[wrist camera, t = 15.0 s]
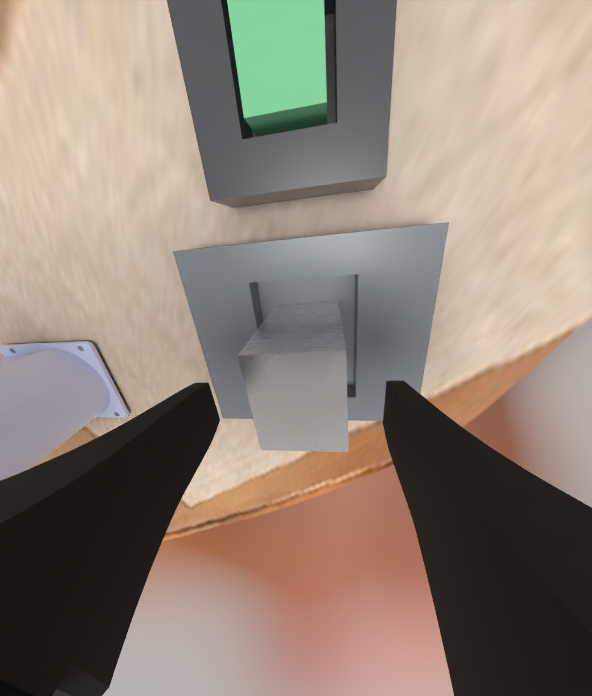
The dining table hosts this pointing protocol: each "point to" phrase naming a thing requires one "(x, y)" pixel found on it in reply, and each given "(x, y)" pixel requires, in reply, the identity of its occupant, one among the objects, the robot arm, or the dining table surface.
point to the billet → (298, 378)
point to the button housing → (298, 145)
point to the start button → (280, 63)
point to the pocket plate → (315, 286)
